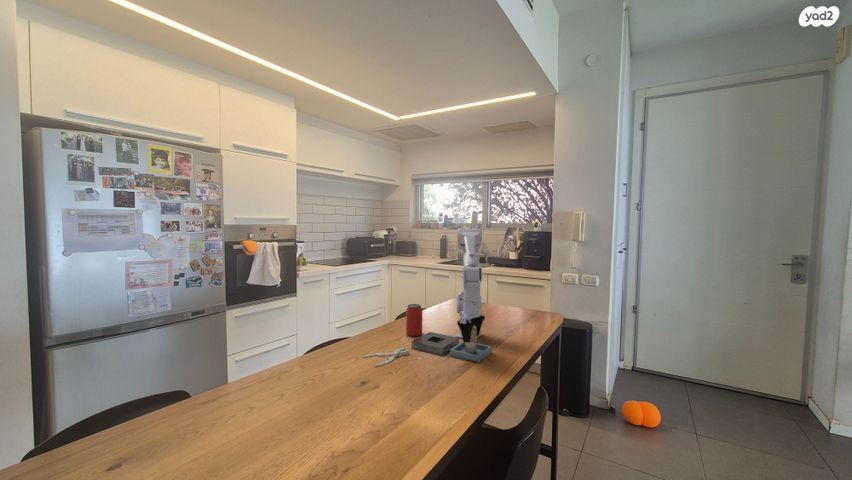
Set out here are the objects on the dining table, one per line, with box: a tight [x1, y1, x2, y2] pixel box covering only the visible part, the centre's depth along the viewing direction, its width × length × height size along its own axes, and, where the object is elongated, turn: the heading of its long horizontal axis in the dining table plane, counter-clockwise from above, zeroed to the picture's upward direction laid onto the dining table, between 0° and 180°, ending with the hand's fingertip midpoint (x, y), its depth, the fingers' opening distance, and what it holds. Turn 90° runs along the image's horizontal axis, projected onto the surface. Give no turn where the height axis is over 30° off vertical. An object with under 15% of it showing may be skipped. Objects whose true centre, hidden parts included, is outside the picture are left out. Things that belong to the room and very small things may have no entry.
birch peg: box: [465, 326, 478, 354], centre depth 121 cm, size 4×4×9 cm
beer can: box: [405, 303, 423, 337], centre depth 142 cm, size 7×7×12 cm
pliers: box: [362, 347, 410, 368], centre depth 119 cm, size 10×2×15 cm
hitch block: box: [411, 331, 460, 356], centre depth 129 cm, size 13×13×2 cm
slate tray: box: [449, 340, 493, 364], centre depth 121 cm, size 11×11×2 cm
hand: (471, 338), depth 121 cm, fingers open, 7 cm apart
